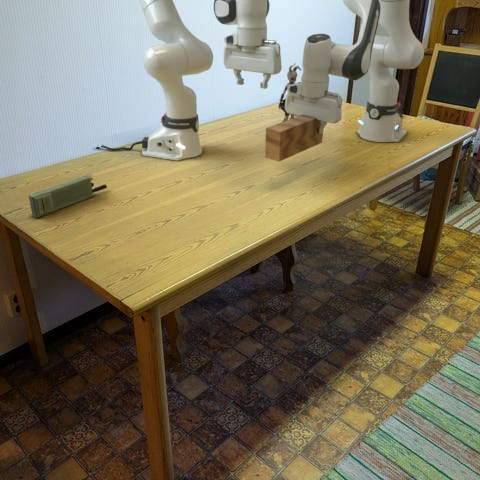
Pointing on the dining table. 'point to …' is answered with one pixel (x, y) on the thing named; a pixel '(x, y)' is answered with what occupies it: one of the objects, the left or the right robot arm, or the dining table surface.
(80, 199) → the handheld radio
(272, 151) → the bar
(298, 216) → the dining table surface
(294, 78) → the figurine
